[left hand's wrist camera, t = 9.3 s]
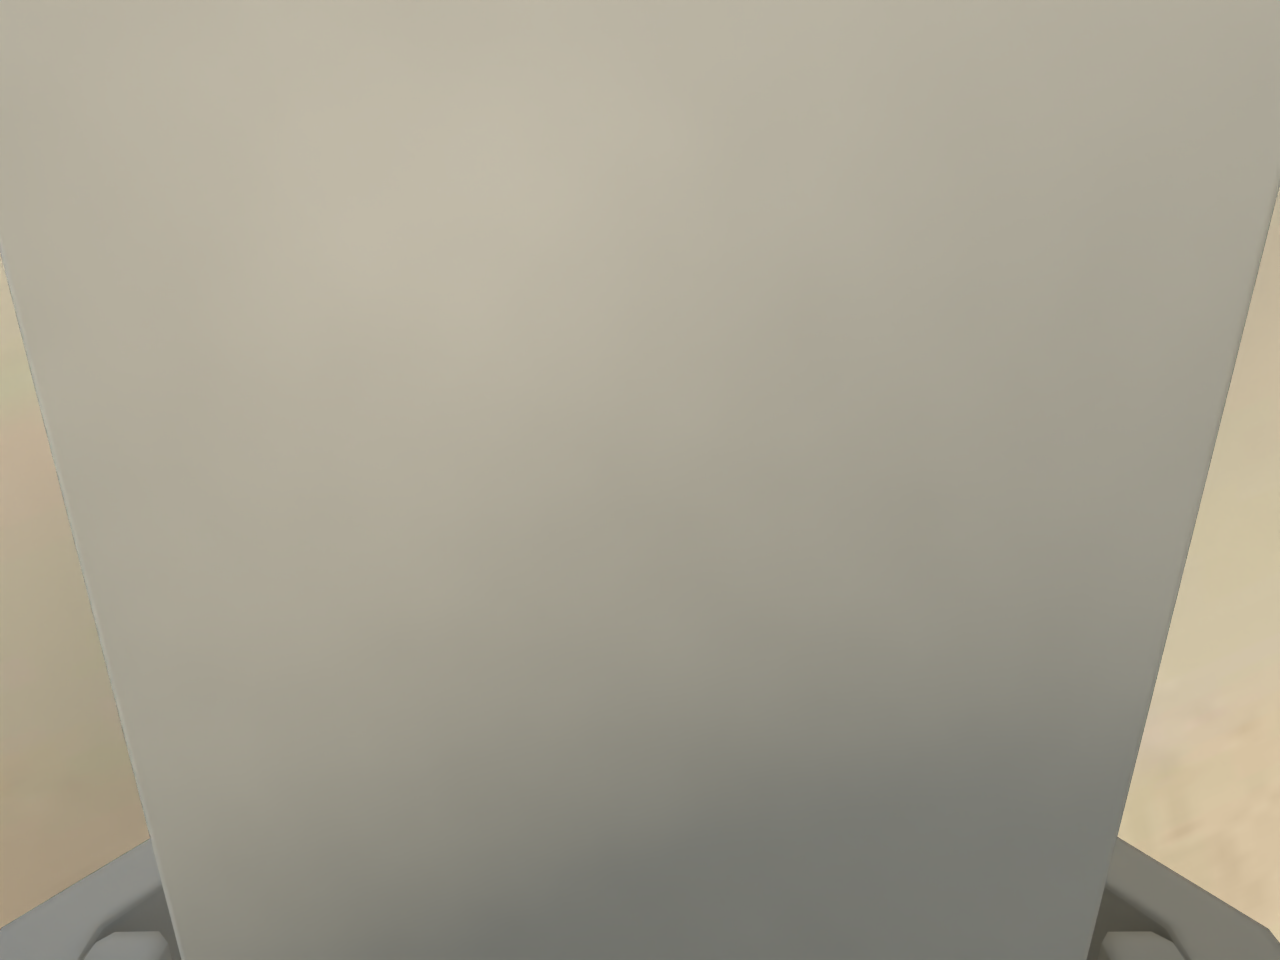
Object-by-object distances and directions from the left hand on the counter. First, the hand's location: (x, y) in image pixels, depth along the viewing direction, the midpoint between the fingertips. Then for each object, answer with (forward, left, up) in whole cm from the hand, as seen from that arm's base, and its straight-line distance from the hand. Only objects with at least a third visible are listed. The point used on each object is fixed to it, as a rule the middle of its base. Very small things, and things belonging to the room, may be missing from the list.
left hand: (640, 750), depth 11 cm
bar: (+10, 0, -3) cm, 10 cm away
